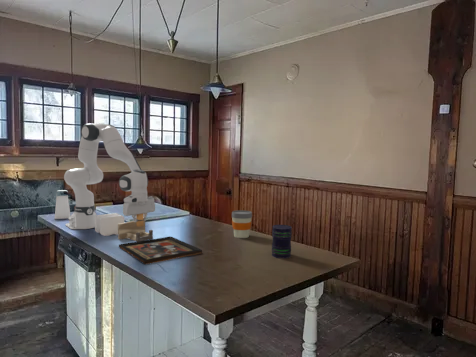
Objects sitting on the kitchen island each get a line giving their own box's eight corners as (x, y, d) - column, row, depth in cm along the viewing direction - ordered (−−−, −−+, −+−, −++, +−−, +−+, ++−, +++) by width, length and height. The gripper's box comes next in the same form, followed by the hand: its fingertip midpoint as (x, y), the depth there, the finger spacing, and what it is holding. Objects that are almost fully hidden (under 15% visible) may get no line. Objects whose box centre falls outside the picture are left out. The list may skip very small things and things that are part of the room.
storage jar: (286, 259, 176) (286, 229, 174) (268, 256, 181) (268, 227, 179) (294, 254, 184) (295, 226, 183) (276, 251, 189) (277, 223, 188)
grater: (55, 216, 269) (54, 189, 267) (70, 215, 273) (69, 189, 272) (54, 219, 259) (53, 191, 258) (70, 218, 264) (69, 191, 262)
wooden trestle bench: (118, 239, 208) (117, 223, 207) (143, 233, 222) (143, 219, 221) (132, 243, 200) (131, 227, 199) (157, 237, 214) (157, 222, 213)
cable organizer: (99, 237, 212) (98, 217, 211) (94, 233, 221) (94, 214, 219) (124, 233, 220) (124, 215, 219) (119, 230, 229) (119, 212, 228)
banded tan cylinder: (134, 225, 209) (134, 213, 208) (140, 224, 212) (140, 212, 211) (139, 226, 206) (139, 214, 205) (145, 225, 209) (145, 213, 209)
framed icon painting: (208, 252, 187) (208, 247, 187) (148, 268, 162) (148, 262, 162) (167, 238, 214) (167, 234, 214) (111, 250, 189) (111, 245, 189)
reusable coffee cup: (255, 236, 220) (256, 212, 219) (242, 240, 211) (242, 214, 210) (240, 232, 229) (241, 209, 227) (227, 236, 219) (227, 211, 218)
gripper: (150, 195, 218) (150, 217, 219) (121, 199, 202) (121, 223, 203) (157, 196, 214) (157, 219, 215) (127, 200, 198) (128, 224, 199)
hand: (139, 221), depth 209 cm, fingers closed on banded tan cylinder, 4 cm apart
